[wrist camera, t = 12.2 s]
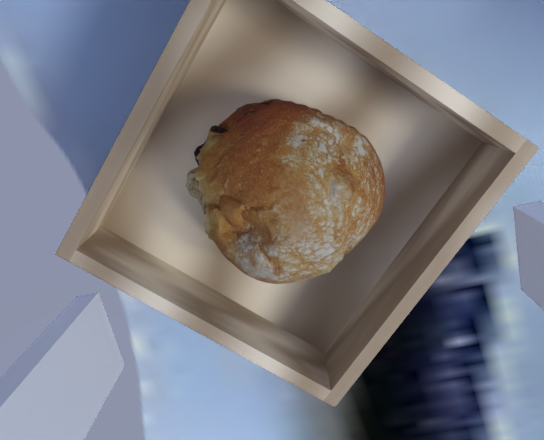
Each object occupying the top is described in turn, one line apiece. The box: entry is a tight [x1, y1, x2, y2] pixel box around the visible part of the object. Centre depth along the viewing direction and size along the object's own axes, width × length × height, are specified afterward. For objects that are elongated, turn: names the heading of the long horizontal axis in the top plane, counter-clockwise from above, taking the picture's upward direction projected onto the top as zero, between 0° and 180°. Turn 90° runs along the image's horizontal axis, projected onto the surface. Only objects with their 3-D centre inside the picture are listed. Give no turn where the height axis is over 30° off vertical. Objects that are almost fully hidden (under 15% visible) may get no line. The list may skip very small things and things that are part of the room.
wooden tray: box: [56, 0, 539, 407], centre depth 27 cm, size 18×18×5 cm
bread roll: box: [186, 99, 385, 284], centre depth 26 cm, size 10×10×8 cm
